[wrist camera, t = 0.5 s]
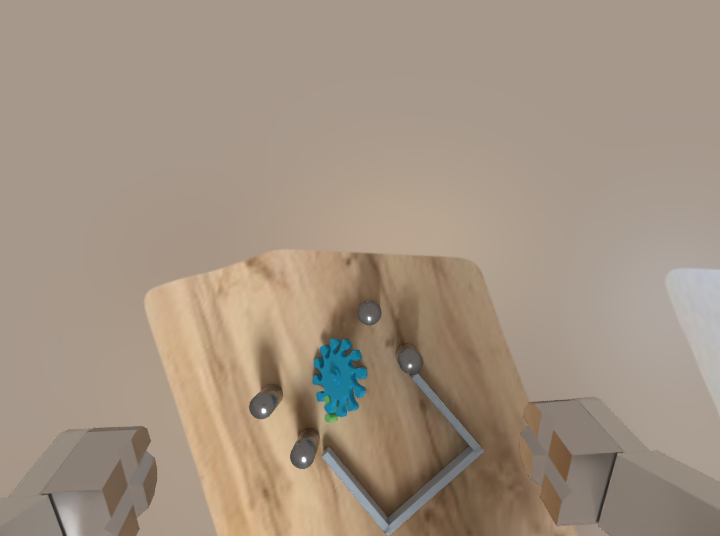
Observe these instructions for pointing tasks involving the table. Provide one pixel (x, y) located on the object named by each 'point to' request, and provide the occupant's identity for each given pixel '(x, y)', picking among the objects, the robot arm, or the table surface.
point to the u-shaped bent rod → (428, 489)
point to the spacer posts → (310, 438)
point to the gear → (339, 379)
